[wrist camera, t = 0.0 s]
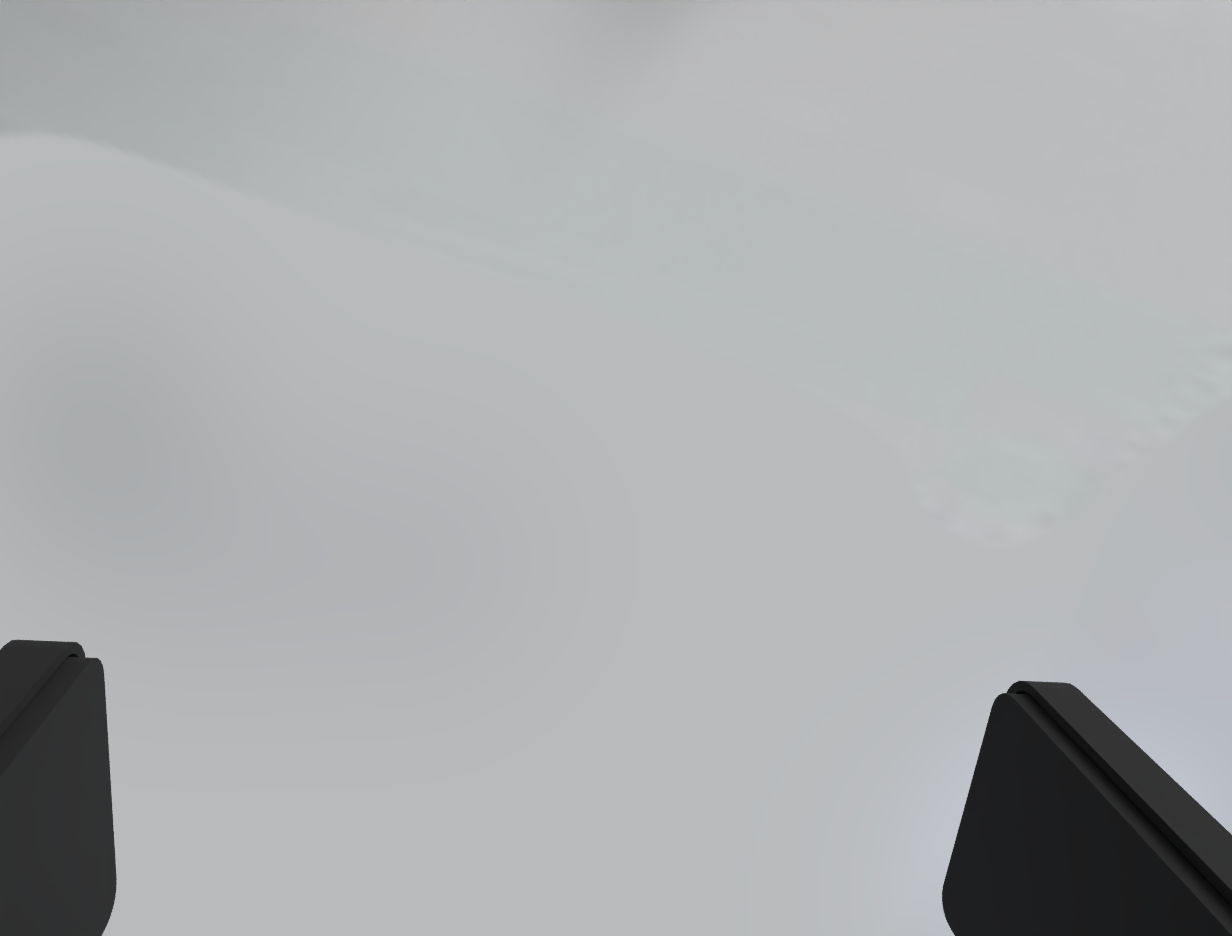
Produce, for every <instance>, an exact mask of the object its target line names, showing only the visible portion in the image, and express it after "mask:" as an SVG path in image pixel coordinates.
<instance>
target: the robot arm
mask: <svg viewBox="0 0 1232 936" xmlns="http://www.w3.org/2000/svg"><path fill="white" fill-rule="evenodd" d="M115 893H116V864H115V847H114V831H113V814H112V797H111V781H110V764H109V748H108V731H107V715H106V698H105V681H104V670H103V665H102V663H101V661H100V660H99V659H98V658H85V653H84V651H83V648H82V646H81V645H79V644H78V643H77V642H57V641H33V640H12V641H10V642H9V643H7V644H6V645H4V646H3V648H2V649H1V650H0V936H101V935H102V933H103V931H104V930H105V928H106V926H107V923H108V921H109V918H110V916H111V912H112V909H113V905H114V900H115ZM942 902H943V909H944V913H945V917H946V920H947V922H948V924H949V926H950V928H951V930H952V931H953V933H954V935H955V936H1232V835H1231V834H1230V833H1229V832H1228V831H1227V830H1226V829H1225V828H1224V827H1223V826H1222V825H1221V824H1220V823H1219V822H1218V821H1217V820H1216V819H1214V818H1213V817H1212V816H1211V815H1210V814H1209V813H1208V812H1207V811H1206V810H1205V809H1204V808H1203V807H1202V806H1201V805H1200V804H1199V803H1198V802H1197V801H1195V800H1194V799H1193V798H1192V797H1191V796H1190V795H1189V794H1188V793H1187V792H1186V791H1185V790H1184V789H1183V788H1182V787H1181V786H1180V785H1178V783H1177V782H1175V781H1174V780H1173V779H1172V778H1171V777H1170V776H1169V775H1168V774H1167V773H1166V772H1165V771H1164V770H1163V769H1162V768H1161V767H1160V766H1158V764H1156V763H1155V762H1154V761H1153V760H1152V759H1151V758H1150V757H1149V756H1148V755H1147V754H1146V753H1145V752H1144V751H1143V750H1142V749H1141V748H1140V747H1139V746H1137V745H1136V744H1135V743H1134V742H1133V741H1132V740H1131V739H1130V738H1129V737H1128V736H1127V735H1126V734H1125V733H1124V732H1123V731H1122V730H1121V729H1120V728H1119V727H1118V726H1116V725H1115V724H1114V723H1113V722H1112V721H1111V720H1110V719H1109V718H1108V717H1107V716H1106V715H1105V714H1104V713H1103V712H1102V711H1101V710H1099V708H1097V707H1096V706H1095V705H1094V704H1093V703H1092V702H1091V701H1090V700H1089V699H1088V698H1087V697H1086V696H1085V695H1084V694H1083V693H1082V692H1081V691H1080V690H1079V689H1077V688H1076V687H1074V686H1073V685H1071V684H1068V683H1058V682H1032V681H1018V682H1016V683H1014V684H1013V685H1012V686H1011V687H1010V688H1009V689H1008V691H1007V693H1003V694H1001V695H999V696H998V697H997V698H996V699H995V701H994V703H993V706H992V709H991V712H990V716H989V720H988V723H987V727H986V731H985V735H984V738H983V742H982V745H981V749H980V753H979V757H978V760H977V764H976V767H975V771H974V775H973V779H972V782H971V786H970V790H969V793H968V797H967V801H966V804H965V808H964V812H963V815H962V819H961V823H960V826H959V830H958V833H957V837H956V841H955V844H954V849H953V852H952V855H951V859H950V863H949V867H948V870H947V874H946V877H945V881H944V885H943V891H942Z"/></svg>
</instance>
